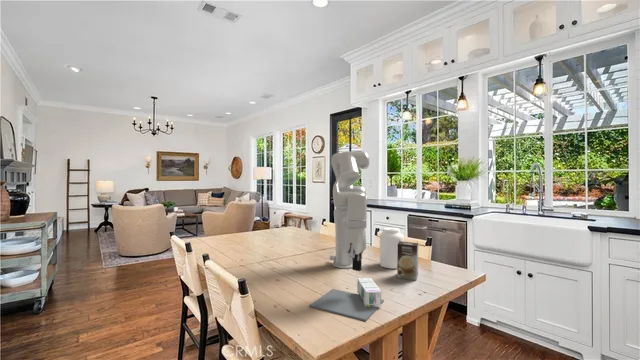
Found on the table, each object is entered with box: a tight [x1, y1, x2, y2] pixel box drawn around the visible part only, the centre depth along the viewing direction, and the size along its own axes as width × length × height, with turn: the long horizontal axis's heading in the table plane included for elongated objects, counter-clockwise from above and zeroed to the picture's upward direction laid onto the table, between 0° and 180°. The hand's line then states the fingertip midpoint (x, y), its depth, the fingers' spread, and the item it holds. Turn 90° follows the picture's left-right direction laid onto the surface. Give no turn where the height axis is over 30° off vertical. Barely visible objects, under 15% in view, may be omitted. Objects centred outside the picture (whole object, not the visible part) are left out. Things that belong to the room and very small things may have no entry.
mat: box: [309, 288, 385, 322], centre depth 110 cm, size 22×18×1 cm
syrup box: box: [356, 277, 382, 308], centre depth 113 cm, size 6×6×14 cm
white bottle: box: [379, 226, 405, 270], centre depth 157 cm, size 12×12×20 cm
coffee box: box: [396, 241, 419, 281], centre depth 139 cm, size 9×6×16 cm
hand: (357, 269), depth 118 cm, fingers closed
